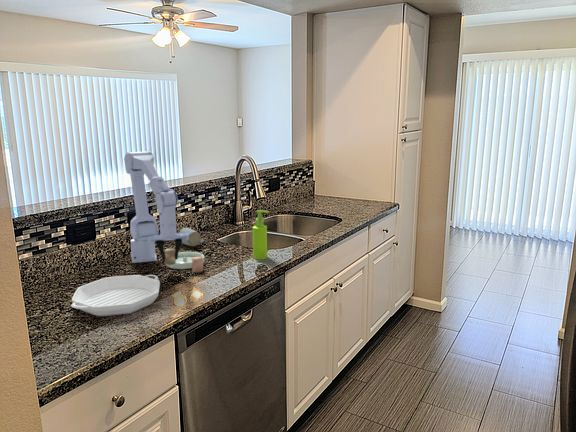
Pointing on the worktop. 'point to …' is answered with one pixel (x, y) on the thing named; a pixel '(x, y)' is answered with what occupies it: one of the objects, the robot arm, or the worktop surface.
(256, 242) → the soap dispenser
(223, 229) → the worktop surface
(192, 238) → the ceramic mug
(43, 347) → the worktop surface
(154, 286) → the pan
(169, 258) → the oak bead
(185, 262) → the groove tray
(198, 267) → the peach rounded oval piece
